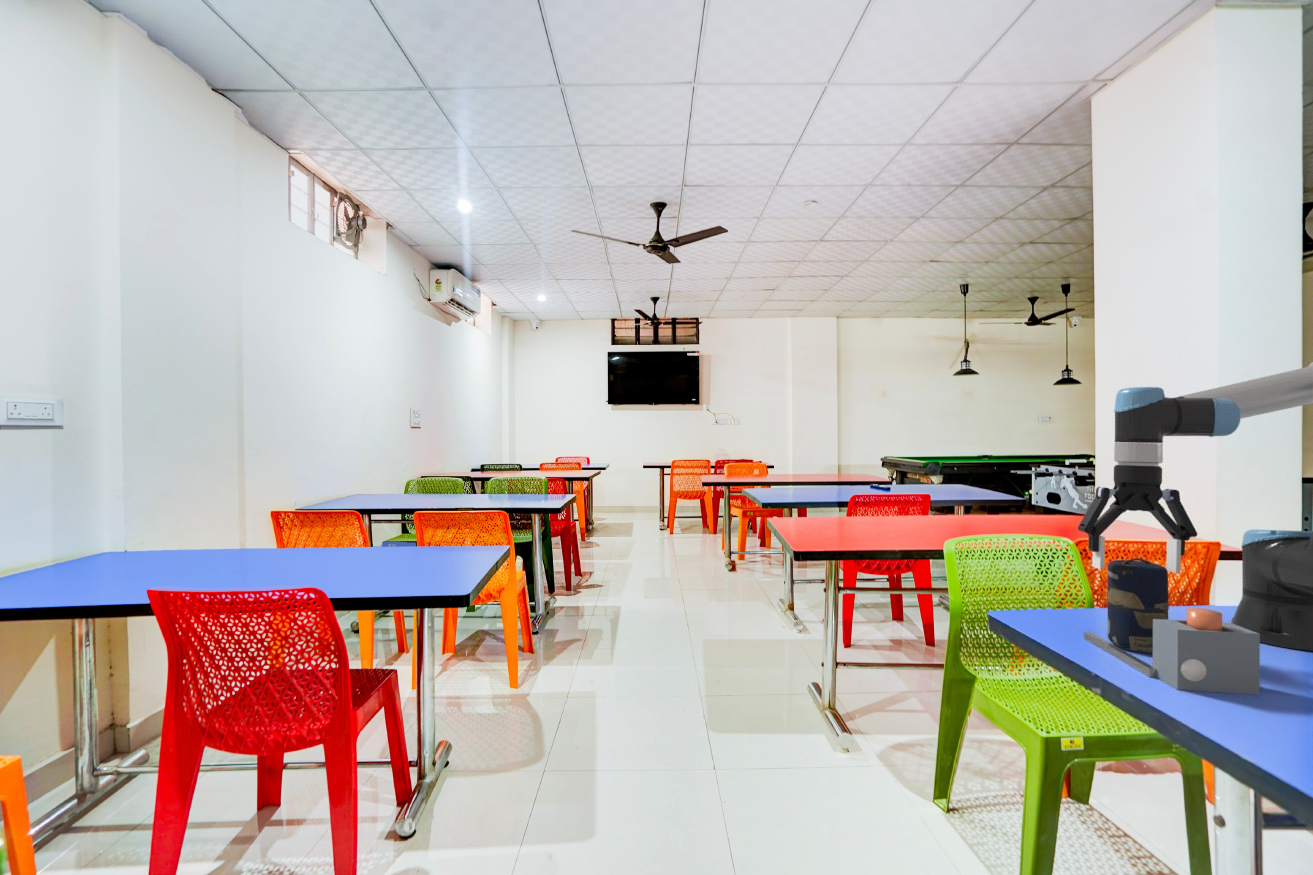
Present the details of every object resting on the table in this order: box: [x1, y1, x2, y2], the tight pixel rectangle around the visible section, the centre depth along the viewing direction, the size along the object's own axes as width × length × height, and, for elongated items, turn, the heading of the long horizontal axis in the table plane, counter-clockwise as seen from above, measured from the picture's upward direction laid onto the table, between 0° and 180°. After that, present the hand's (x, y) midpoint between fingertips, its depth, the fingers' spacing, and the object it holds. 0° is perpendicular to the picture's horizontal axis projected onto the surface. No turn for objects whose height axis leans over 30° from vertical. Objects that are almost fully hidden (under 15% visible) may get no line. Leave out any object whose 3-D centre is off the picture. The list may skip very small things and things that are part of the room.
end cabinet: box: [1152, 619, 1261, 696], centre depth 99 cm, size 12×6×10 cm, turn 81°
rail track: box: [1083, 631, 1158, 679], centre depth 111 cm, size 15×20×2 cm
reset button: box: [1186, 607, 1223, 631], centre depth 100 cm, size 4×4×4 cm
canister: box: [1106, 557, 1170, 654], centre depth 117 cm, size 10×10×18 cm
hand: (1135, 569), depth 117 cm, fingers open, 13 cm apart
